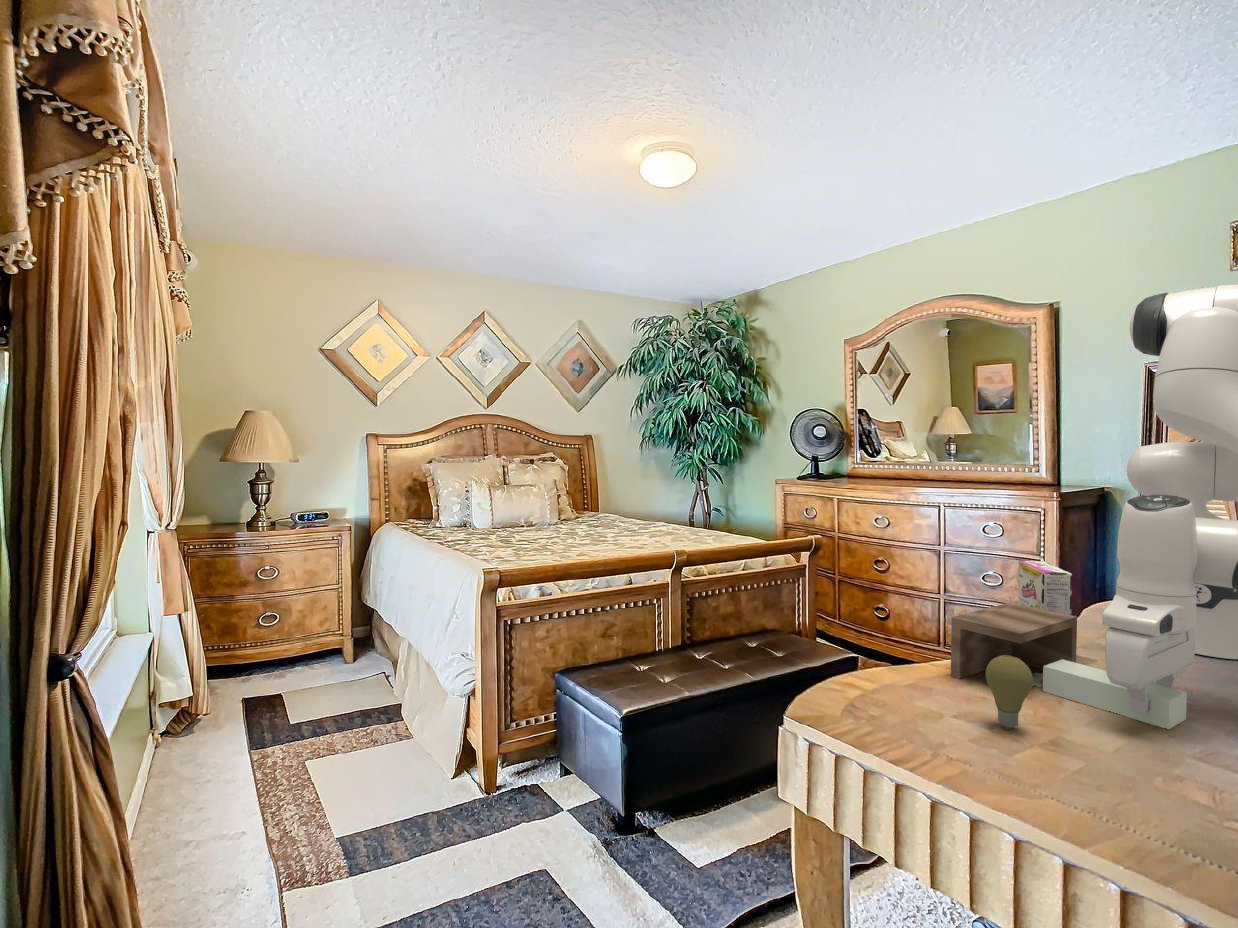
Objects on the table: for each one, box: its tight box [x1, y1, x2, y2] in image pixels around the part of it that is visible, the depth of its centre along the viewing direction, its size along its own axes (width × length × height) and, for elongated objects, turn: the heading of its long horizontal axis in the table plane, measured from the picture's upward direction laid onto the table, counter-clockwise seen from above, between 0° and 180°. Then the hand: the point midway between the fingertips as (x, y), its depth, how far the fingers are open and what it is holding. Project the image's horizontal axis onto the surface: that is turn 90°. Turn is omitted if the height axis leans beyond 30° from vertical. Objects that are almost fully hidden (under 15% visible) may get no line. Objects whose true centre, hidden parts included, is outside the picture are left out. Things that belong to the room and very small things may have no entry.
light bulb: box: [985, 655, 1034, 730], centre depth 90 cm, size 6×6×10 cm
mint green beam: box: [1042, 659, 1188, 730], centre depth 98 cm, size 6×16×4 cm, turn 32°
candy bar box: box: [1017, 560, 1073, 615], centre depth 120 cm, size 11×5×16 cm, turn 168°
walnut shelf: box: [950, 602, 1078, 688], centre depth 109 cm, size 18×11×10 cm, turn 122°
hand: (1151, 705), depth 93 cm, fingers closed on mint green beam, 6 cm apart
